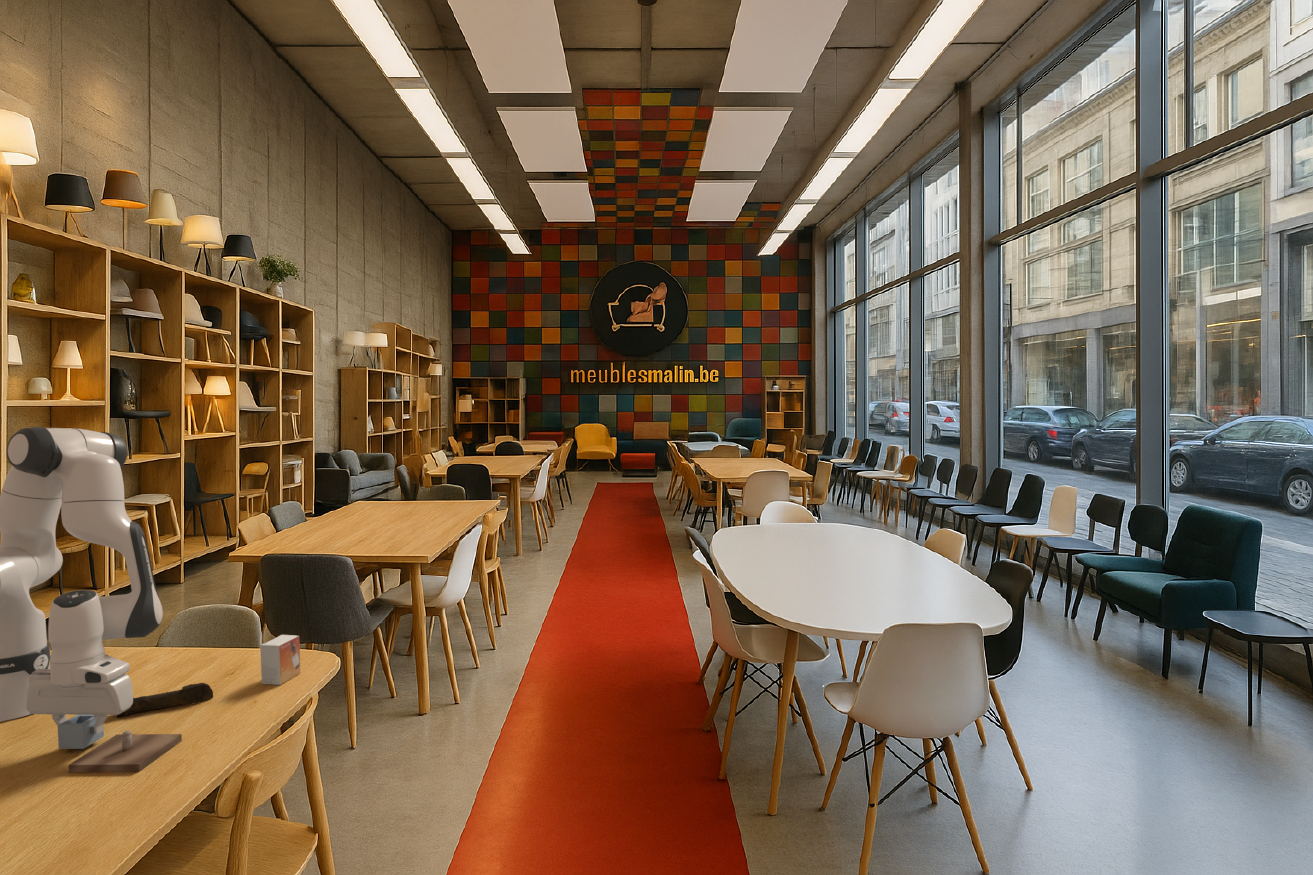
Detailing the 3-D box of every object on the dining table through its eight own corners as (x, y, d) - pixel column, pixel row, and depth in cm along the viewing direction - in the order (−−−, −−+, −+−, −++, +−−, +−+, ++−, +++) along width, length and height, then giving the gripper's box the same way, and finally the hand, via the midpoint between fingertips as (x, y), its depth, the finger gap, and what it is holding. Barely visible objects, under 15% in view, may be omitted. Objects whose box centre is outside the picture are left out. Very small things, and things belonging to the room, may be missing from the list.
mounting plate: (68, 772, 133) (67, 746, 133) (117, 741, 145) (115, 717, 145) (139, 771, 133) (138, 745, 133) (181, 740, 145) (180, 716, 145)
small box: (280, 685, 173) (278, 645, 172) (261, 684, 174) (259, 644, 173) (301, 673, 181) (300, 635, 180) (282, 671, 182) (281, 633, 181)
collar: (58, 748, 140) (57, 725, 140) (80, 735, 145) (79, 713, 145) (83, 748, 140) (82, 725, 140) (103, 736, 145) (102, 713, 145)
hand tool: (113, 720, 155) (112, 701, 155) (118, 713, 159) (117, 694, 158) (211, 704, 163) (210, 686, 163) (213, 697, 167) (213, 679, 166)
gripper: (15, 674, 139) (18, 739, 140) (113, 675, 139) (116, 740, 139) (43, 662, 145) (46, 724, 146) (137, 663, 145) (139, 725, 146)
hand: (81, 732), depth 143 cm, fingers closed on collar, 5 cm apart
